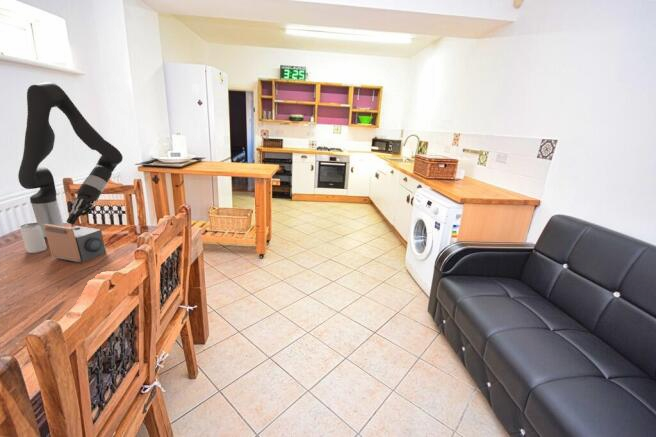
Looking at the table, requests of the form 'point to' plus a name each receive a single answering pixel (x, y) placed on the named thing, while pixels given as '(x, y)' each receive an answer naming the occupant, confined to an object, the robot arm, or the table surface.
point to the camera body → (89, 242)
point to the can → (33, 238)
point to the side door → (62, 242)
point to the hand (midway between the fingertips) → (69, 223)
